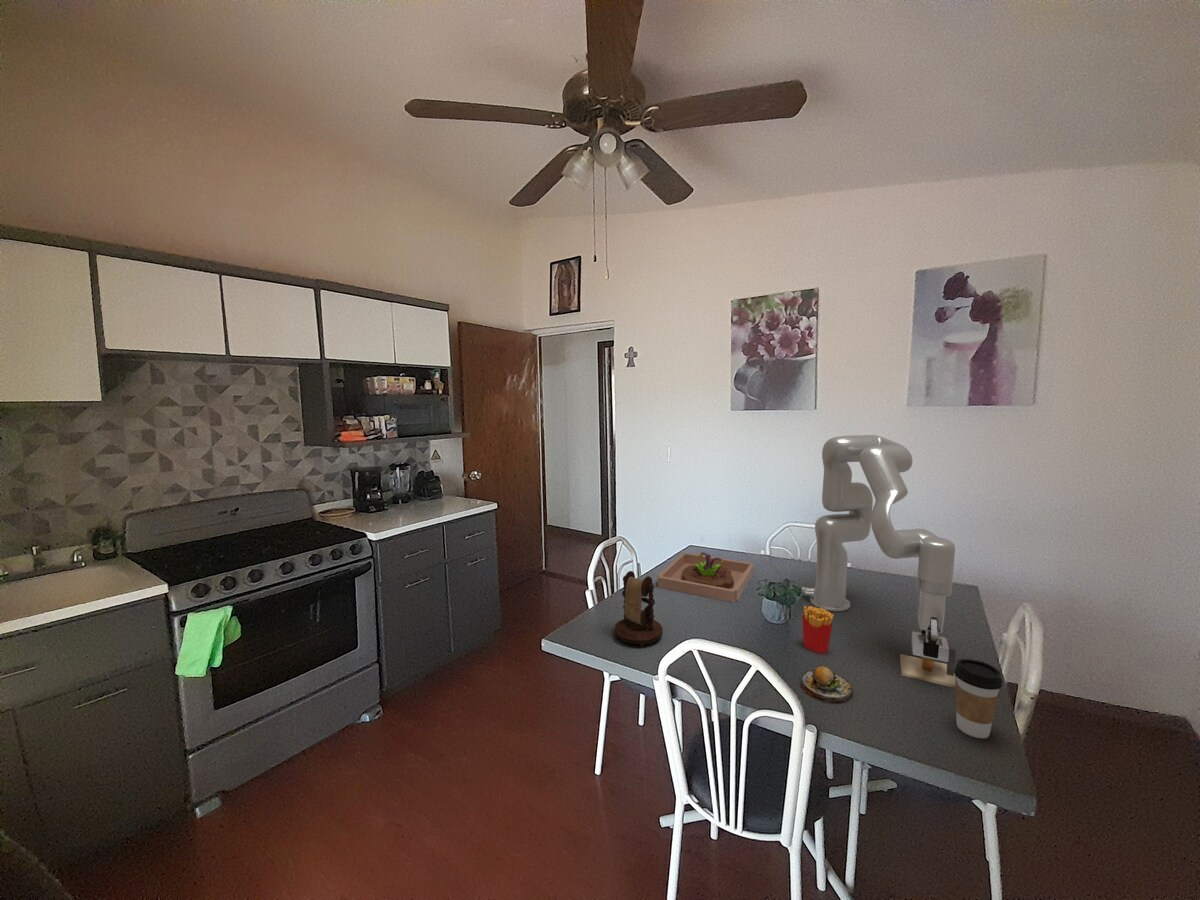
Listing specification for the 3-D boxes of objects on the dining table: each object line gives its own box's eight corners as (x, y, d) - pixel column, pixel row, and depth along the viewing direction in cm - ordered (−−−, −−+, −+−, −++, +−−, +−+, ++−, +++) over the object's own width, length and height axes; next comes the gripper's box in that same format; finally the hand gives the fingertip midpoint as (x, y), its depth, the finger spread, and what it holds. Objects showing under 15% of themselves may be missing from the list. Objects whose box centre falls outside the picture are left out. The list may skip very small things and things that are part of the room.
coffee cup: (940, 717, 114) (945, 657, 112) (974, 715, 115) (980, 654, 112) (970, 744, 106) (976, 679, 103) (1007, 741, 106) (1014, 676, 104)
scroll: (604, 637, 152) (603, 575, 149) (633, 619, 163) (633, 561, 160) (643, 654, 142) (643, 588, 140) (671, 634, 153) (672, 572, 151)
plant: (680, 569, 205) (681, 543, 203) (729, 570, 202) (729, 544, 201) (682, 589, 185) (682, 560, 184) (735, 591, 183) (736, 562, 181)
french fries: (799, 645, 146) (800, 606, 144) (805, 640, 148) (807, 602, 147) (828, 656, 139) (830, 616, 138) (834, 651, 142) (836, 612, 140)
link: (912, 654, 130) (913, 642, 129) (911, 643, 135) (912, 631, 135) (948, 662, 126) (949, 649, 126) (945, 650, 132) (946, 637, 131)
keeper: (901, 675, 130) (903, 647, 129) (900, 656, 139) (901, 629, 138) (957, 688, 124) (959, 658, 123) (952, 667, 133) (954, 640, 132)
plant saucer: (656, 588, 188) (656, 576, 188) (683, 562, 214) (683, 552, 214) (735, 604, 174) (736, 592, 173) (754, 574, 200) (754, 563, 199)
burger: (863, 700, 121) (864, 672, 120) (820, 708, 118) (821, 679, 117) (830, 672, 133) (831, 646, 131) (790, 678, 130) (792, 652, 129)
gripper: (914, 571, 138) (910, 632, 140) (919, 595, 123) (914, 662, 125) (947, 576, 134) (942, 638, 136) (956, 601, 119) (950, 670, 121)
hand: (929, 649), depth 131 cm, fingers closed on link, 6 cm apart
